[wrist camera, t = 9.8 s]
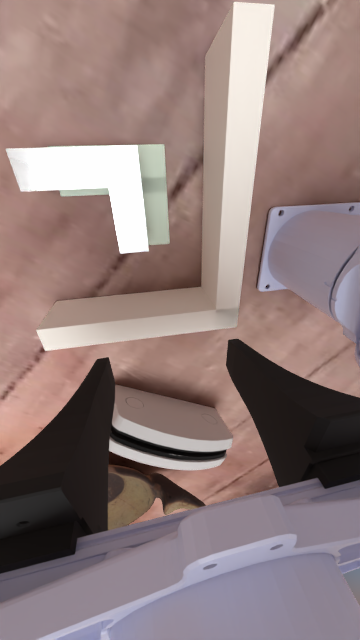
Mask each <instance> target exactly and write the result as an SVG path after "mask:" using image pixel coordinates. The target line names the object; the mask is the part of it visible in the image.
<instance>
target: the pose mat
mask: <svg viewBox="0 0 360 640" xmlns="http://www.w3.org/2000/svg"><path fill="white" fill-rule="evenodd" d="M95 146H136V145H90V146H48V148H54V147H95ZM137 150H138V159H139V168H140V177H141V186H142V195H143V204H144V213H145V222H146V231H147V240H148V245H159V244H170V239H169V221H168V203H167V185H166V167H165V150H164V144H150V145H137ZM60 194H61V196H83V195H106V194H110V193H109V188H87V189H65V190H60Z"/></svg>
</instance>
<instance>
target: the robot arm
mask: <svg viewBox="0 0 360 640" xmlns="http://www.w3.org/2000/svg"><path fill="white" fill-rule="evenodd" d="M350 207H351V209H350V210H349V208H350ZM280 210H281V211H282V213H281V215H280V216H279V215H278V213H279V211H280ZM266 285H268V287H266ZM265 287H266V288H265ZM257 289H258V290H259V291H261V292H263V291H273V290H282V289H289V290H291V291H292V292H294V293H295V294H297V295H298V296H300V297H301V298H303V299H304V300H306V301H307V302H309V303H310V304H312V305H313V306H315V307H316V308H318V309H319V310H321V311H322V312H323V313H325V314H326V315H328V316H329V317H331V318H332V319H334V320H335V321H337V322H339V323H340V324H341V325H342V327H343V335H345V336H346V337H348V338H349V339H350V340H352V341H353V342H355V343H356V347H355V358H356V361H357V363H358V366H359V367H360V202H354V203H335V204H317V205H299V206H281V207H273V208H271V209H270V211H269V214H268V221H267V227H266V233H265V240H264V246H263V253H262V259H261V265H260V272H259V278H258V284H257ZM226 366H227V369H228V372H229V374H230V377H231V379H232V381H233V383H234V385H235V387H236V388H237V390H238V392H239V394H240V396H241V397H242V399H243V401H244V403H245V405H246V406H247V408H248V410H249V412H250V414H251V416H252V418H253V421H254V423H255V425H256V428H257V430H258V432H259V435H260V437H261V440H262V442H263V445H264V447H265V450H266V452H267V455H268V458H269V460H270V463H271V466H272V468H273V471H274V474H275V477H276V480H277V483H278V486H279V488H275V489H271V490H267V491H263V492H259V493H255V494H251V495H247V496H243V497H239V498H235V499H231V500H227V501H223V502H219V503H215V504H211V505H207V506H203V507H199V508H195V509H191V510H187V511H183V512H179V513H175V514H171V515H167V516H163V517H159V518H156V519H152V520H148V521H144V522H140V523H136V524H132V525H128V526H124V527H120V528H116V529H112V530H108V465H109V442H110V433H111V426H112V419H113V411H114V404H115V380H114V376H113V373H112V369H111V365H110V361H109V357H108V358H101V359H97V360H96V362H95V363H94V365H93V367H92V368H91V370H90V372H89V373H88V375H87V376H86V378H85V379H84V381H83V382H82V384H81V385H80V387H79V388H78V390H77V391H76V392H75V394H74V395H73V396H72V398H71V399H70V400H69V402H68V403H67V404H66V405H65V406H64V408H63V409H62V410H61V411H60V412H59V413H58V415H57V416H56V417H55V418H54V419H53V420H52V421H51V422H50V423H49V424H48V425H47V426H46V427H45V428H44V429H43V430H42V431H41V432H40V433H39V434H38V435H37V436H36V437H35V438H34V439H32V440H31V441H30V442H29V443H28V444H27V445H26V446H25V447H23V448H22V449H21V450H20V451H19V452H17V453H16V454H15V455H14V456H13V457H11V458H10V459H9V460H7V461H6V462H5V463H4V464H2V465H1V466H0V640H360V606H359V605H358V602H357V601H356V599H355V597H354V595H353V593H352V591H351V590H350V588H349V586H348V584H347V582H346V580H345V578H344V577H343V575H342V574H344V573H346V572H349V571H352V570H354V569H357V568H360V398H358V397H355V396H351V395H348V394H344V393H341V392H338V391H335V390H332V389H329V388H326V387H323V386H321V385H318V384H316V383H313V382H311V381H309V380H306V379H304V378H302V377H299V376H297V375H295V374H293V373H291V372H289V371H287V370H286V369H284V368H282V367H280V366H278V365H277V364H275V363H273V362H272V361H270V360H268V359H267V358H265V357H264V356H262V355H261V354H259V353H258V352H256V351H255V350H254V349H252V348H251V347H249V346H248V345H246V344H245V343H244V342H242V341H241V340H239V339H232V340H228V350H227V361H226Z"/></svg>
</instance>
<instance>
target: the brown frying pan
mask: <svg viewBox="0 0 360 640" xmlns="http://www.w3.org/2000/svg"><path fill="white" fill-rule="evenodd" d="M155 498H160V499H161V500H162V504H163V511H164V514H165V515H167V514H169V513H171V512H173V511H174V510H177V509H180V508H185V509H195V508H199V507H203V506H206V505H205V504H204V503H203V502H202V501H201V500H199V499H198V498H196V497H195V496H193V495H192V494H190V493H189V492H187V491H186V490H184V489H182V488H181V487H179V486H178V485H176V484H175V483H173V482H172V481H171V480H169V479H168V478H166V477H165V476H163V475H162V474H159V473H152V474H148V475H144V474H143V473H141V472H140V471H138V470H135V469H132V468H129V467H124V466H118V465H108V530H112V529H116V528H120V527H124V526H127V525H129V524H130V523H131V522H134V521H135V520H136V519H137V518H139V517H140V516H142V515H143V514H144V513H145V512H147V511H148V510H149V509H150V507H151V506H152V504H153V503H154V500H155Z"/></svg>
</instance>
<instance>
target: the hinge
mask: <svg viewBox="0 0 360 640" xmlns="http://www.w3.org/2000/svg"><path fill="white" fill-rule="evenodd" d="M232 440H233V435H232V433H231V432H230V430H229V429H228V427H227V426H226V424H225V423H224V421H223V420H222V418H221V417H220V415H219V413H218V412H217V410H216V409H215V408H212V407H208V406H203V405H199V404H195V403H191V402H187V401H183V400H178V399H174V398H170V397H166V396H162V395H158V394H154V393H149V392H145V391H141V390H137V389H133V388H129V387H124V386H120V385H116V384H115V404H114V411H113V419H112V426H111V433H110V442H109V451H110V452H112V453H115V454H117V455H120V456H122V457H125V458H128V459H131V460H134V461H137V462H140V463H144V464H148V465H152V466H156V467H161V468H167V469H176V470H201V469H208V468H213V467H216V466H219V465H221V463H222V462H223V461H224V459H225V458H226V457H227V454H226V450H227V449H229V448H231V445H232Z"/></svg>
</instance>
